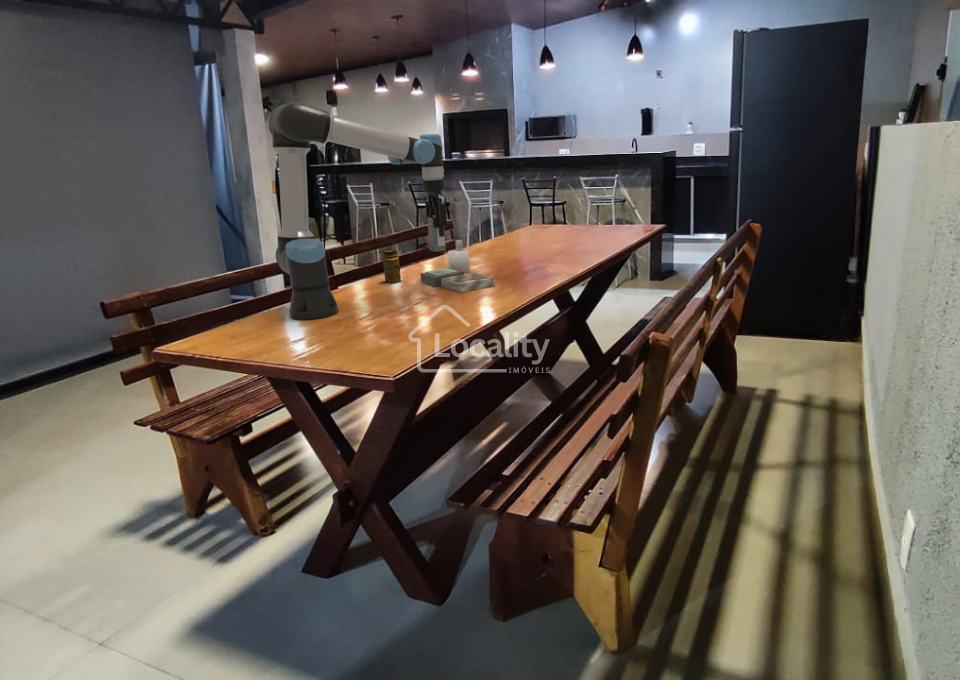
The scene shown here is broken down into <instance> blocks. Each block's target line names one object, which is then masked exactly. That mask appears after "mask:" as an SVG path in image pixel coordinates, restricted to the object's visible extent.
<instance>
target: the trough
mask: <svg viewBox="0 0 960 680" xmlns="http://www.w3.org/2000/svg"><path fill="white" fill-rule="evenodd" d="M495 285H496V284H495V277H493V276H489V275H485V274H481V273H477V272H470V273H469V274H464V275H458V276H453V277H447V278H441V286H440V287H441V288H443V287H444V288H445V289H447V290H450V291H451V292H452V291H453V292H456V293H459V294H460V293H461V292H462V293H466V292H472V291H476V290H481V289H482V290H483V289H487V288H492V287H495Z"/></svg>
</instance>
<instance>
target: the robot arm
mask: <svg viewBox="0 0 960 680" xmlns="http://www.w3.org/2000/svg"><path fill="white" fill-rule="evenodd" d="M268 128H269V132H270V135H271V137H272V138H271V139H272V148H273V150H274V152H276V153H277V158H278V177H279V196H280V214H281V215H280V216H281V217H280V220H281V221H280V222H281V230H280V232H278V233H277V247H276V250H275V260H276V263H277V265H278V267H279V268H280V269H281V270H282V271H283V272H284V273H285V274H287V275H289V278H290V286H291V293H292V294H291V297H290V298H291V299H290V304H289V317H290V319H294V320H303V321H304V320H305V321H307V320H316V319H321V318H323V319H324V318H326V317H330V316H333V315H335V314H337V313H338V312H339V306H338V303H337V301H336V298H335V296H334V295H333V292H332V290H331V287H330V281H329V273H328V267H327V265H328V264H327V258H326V249H325V246H324V243H323V242H322V241H321V240H319V239H317V238H316V239H315V235H314V234H313V233H312V231H310V226H309V225H310V224H309V223H310V221H309V200H308V199H309V198H308V197H309V196H308V174H307V173H308V172H307V154H308V153H309V152H310V151H311V142H313V143H319V144H324V145H325V144H327V143H328V142H330V143H334V144H337V145H341V146H346V147H350V148H353V149H358V150H363V151H365V152H366V151H367V152H370V153H375V154H378V155H383V156H386V157H387V159H388V161H389V163H390V164H392V165H399V166H400V165H407V164H409V165H410V164H412V165H413V164H418V165H419V164H421V173H422V179H423V181H422V182H423V186H422V187H423V191H424V192H427V195H426V196H424V197H423V200H424V207H425V218H426V219H425V220H426V225H428V221H427V218H428V217H433V215H436V221H437V226H436V232H437V246H443V245H445V246H446V236H445V237H444V231H445V227H446V226H447V225H448V222H447V221H448V220H447V219H448V218H447V197H443V193H442V191H444V190H446V189H445V188H446V187H445V186H446V185H445V180H444V179H443V178H444V174H445V173H444V172H445V169H444V159H443V143H442V137H441V135H440V134H439V133H423V134H420V136H419V138H416V137H412V136H407V135H403V134H400V133H396V132H392V131H388V130H385V129H381V128H378V127H374V126H370V125H367V124H363V123H360V122H359V123H358V122H355V121H352V120H347V119H344V118H340V117H337V116H334V115H333V114H332V112H331V111H327V110H324V109H320V108H318V107H316V106H312V105H309V104H306V103H304V102H299V101H293V102H288V103H286V104H282V105H279V106H277V107H276V108H275V109H273V111H272V112H271V114H270V116H269V120H268Z"/></svg>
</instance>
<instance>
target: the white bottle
mask: <svg viewBox="0 0 960 680" xmlns="http://www.w3.org/2000/svg"><path fill="white" fill-rule="evenodd" d="M447 258H448V266H450V269H453V270H456V271H459V270H464V274H469V273H471V269H470V268H471V267H470V255H469V249H466V248H465V249H464V246H463V240H462V239H455V249H452V250H448V251H447Z"/></svg>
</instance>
